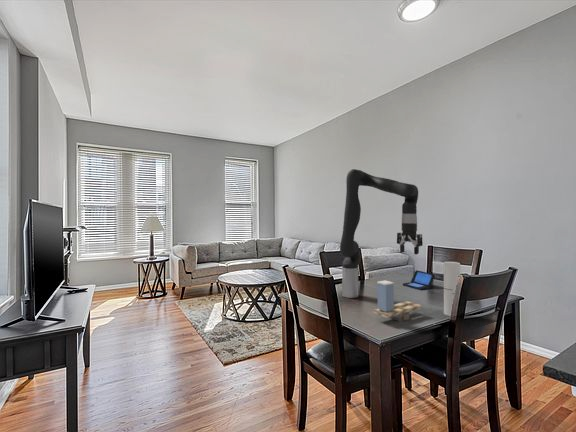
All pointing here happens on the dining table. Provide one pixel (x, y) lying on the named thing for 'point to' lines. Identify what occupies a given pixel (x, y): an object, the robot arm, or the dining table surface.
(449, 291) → the cylindrical container
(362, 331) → the dining table surface
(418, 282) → the handheld game console
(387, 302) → the blue rectangular block
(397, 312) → the ginger root
